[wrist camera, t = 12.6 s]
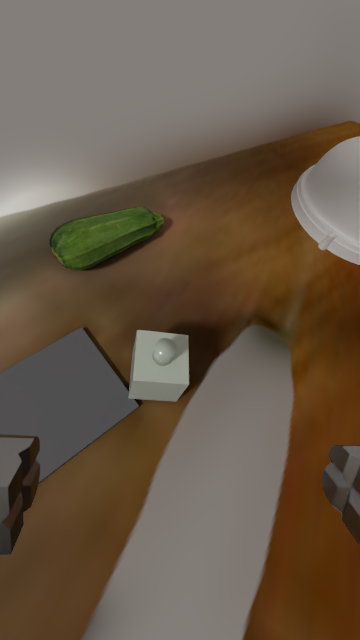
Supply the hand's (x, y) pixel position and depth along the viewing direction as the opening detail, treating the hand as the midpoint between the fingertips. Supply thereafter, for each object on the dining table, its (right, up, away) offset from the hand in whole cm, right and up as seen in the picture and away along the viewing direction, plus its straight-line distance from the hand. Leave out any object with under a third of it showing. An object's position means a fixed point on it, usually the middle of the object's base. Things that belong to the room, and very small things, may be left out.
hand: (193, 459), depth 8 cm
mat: (-16, -7, +29) cm, 34 cm away
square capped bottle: (-4, -4, +32) cm, 33 cm away
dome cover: (+39, +27, +58) cm, 75 cm away
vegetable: (-12, +17, +43) cm, 47 cm away
